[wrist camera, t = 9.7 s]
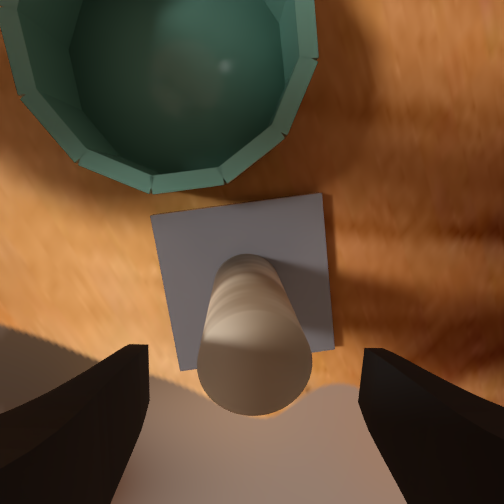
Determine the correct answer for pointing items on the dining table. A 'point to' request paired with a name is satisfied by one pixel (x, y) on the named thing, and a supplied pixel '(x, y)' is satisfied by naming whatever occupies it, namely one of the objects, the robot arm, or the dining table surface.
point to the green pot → (162, 82)
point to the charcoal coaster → (244, 242)
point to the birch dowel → (252, 340)
